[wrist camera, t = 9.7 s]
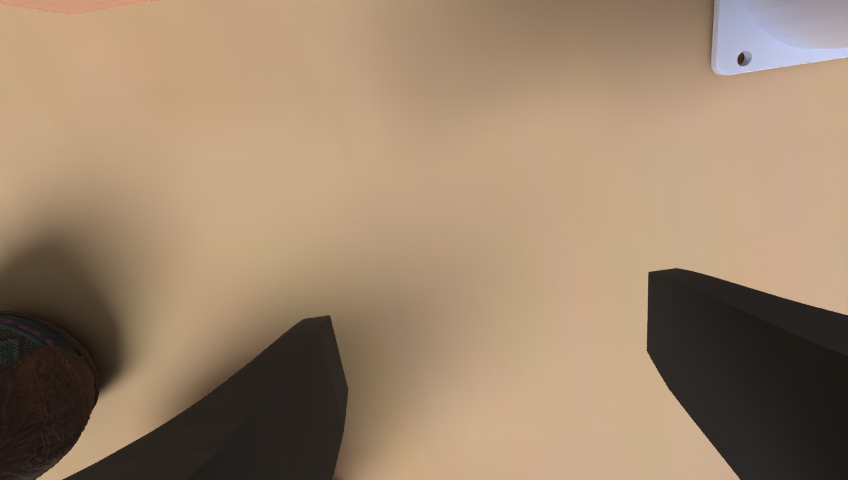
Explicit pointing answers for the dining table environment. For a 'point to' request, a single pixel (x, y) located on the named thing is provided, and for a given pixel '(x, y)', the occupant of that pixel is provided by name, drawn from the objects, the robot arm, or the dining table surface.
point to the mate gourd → (41, 394)
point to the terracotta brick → (70, 5)
